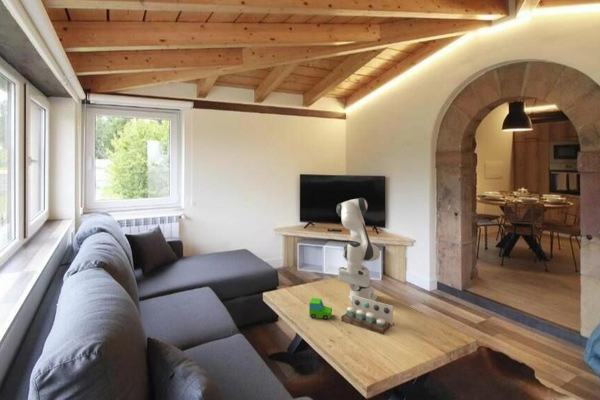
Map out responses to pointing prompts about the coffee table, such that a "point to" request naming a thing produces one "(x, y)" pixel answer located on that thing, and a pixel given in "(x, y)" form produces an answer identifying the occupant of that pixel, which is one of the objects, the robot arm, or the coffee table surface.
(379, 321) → the button
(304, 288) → the coffee table surface
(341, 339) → the coffee table surface
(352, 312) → the button
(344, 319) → the walnut button board
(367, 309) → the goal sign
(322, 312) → the toy car
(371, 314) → the button
